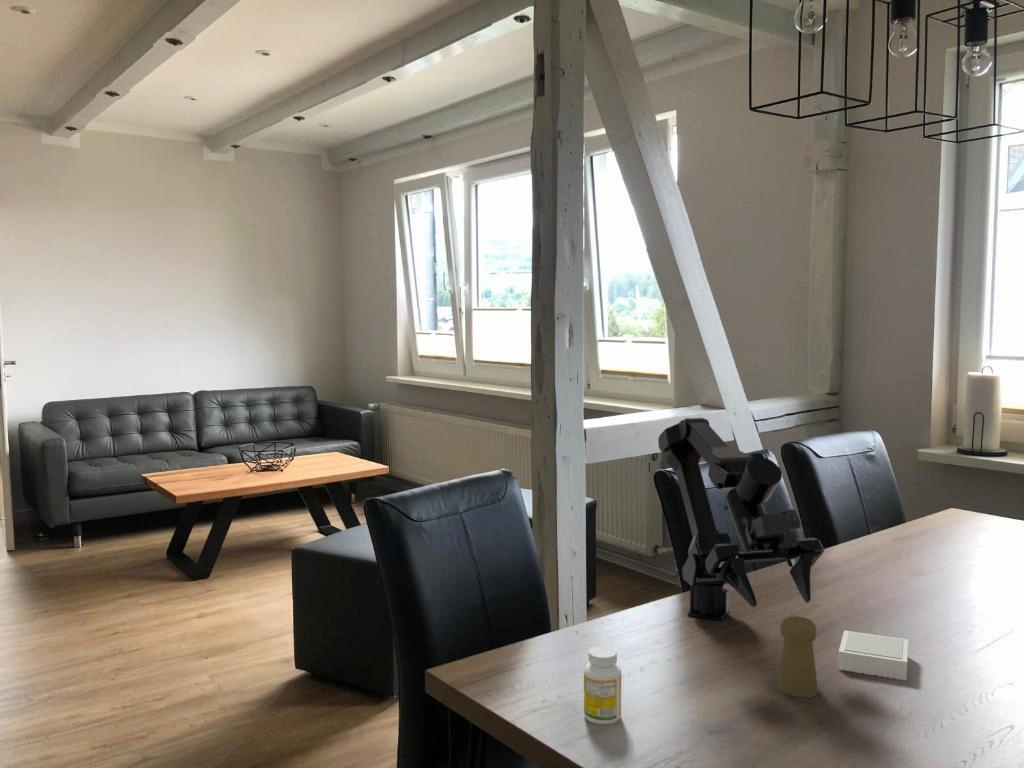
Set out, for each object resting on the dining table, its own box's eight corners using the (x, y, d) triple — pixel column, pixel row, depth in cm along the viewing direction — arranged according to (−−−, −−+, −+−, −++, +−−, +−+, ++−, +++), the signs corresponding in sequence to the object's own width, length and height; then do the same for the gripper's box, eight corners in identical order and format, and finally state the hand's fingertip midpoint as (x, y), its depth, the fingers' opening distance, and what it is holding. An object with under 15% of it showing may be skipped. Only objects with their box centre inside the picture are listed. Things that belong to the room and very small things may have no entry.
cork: (821, 699, 127) (822, 627, 126) (778, 695, 128) (780, 624, 127) (815, 681, 133) (816, 613, 132) (774, 678, 134) (775, 611, 133)
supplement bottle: (607, 729, 118) (607, 662, 117) (576, 718, 122) (576, 653, 121) (628, 715, 122) (628, 650, 122) (597, 704, 126) (597, 641, 125)
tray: (838, 669, 137) (838, 650, 137) (843, 647, 146) (844, 629, 146) (906, 680, 133) (907, 661, 132) (907, 657, 142) (908, 638, 141)
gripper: (713, 495, 137) (743, 583, 127) (818, 489, 140) (857, 574, 130) (693, 531, 145) (720, 617, 135) (793, 525, 149) (827, 608, 139)
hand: (781, 603), depth 134 cm, fingers open, 9 cm apart
